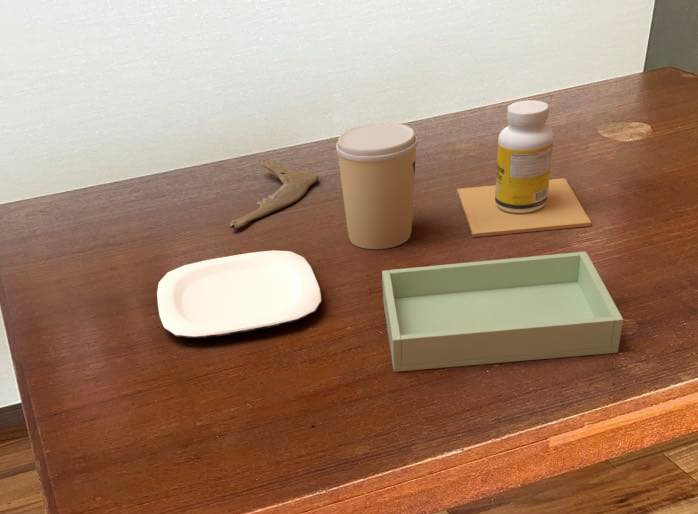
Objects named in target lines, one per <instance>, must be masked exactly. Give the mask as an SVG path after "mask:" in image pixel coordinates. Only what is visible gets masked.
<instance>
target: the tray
mask: <svg viewBox="0 0 698 514" xmlns="http://www.w3.org/2000/svg"><path fill="white" fill-rule="evenodd" d="M597 270H598V269H596V267H595V265H594V263H593V261H592V259H591V258H590V256H589V254H588V251H575V252H566V253H565V252H563V253H555V254H546V255H545V254H544V255H534V256H533V255H532V256H523V257H512V258H502V259H491V260H479V261H469V262H459V263H449V264H437V265H427V266H416V267H407V268H405V267H404V268H395V269H387V270H382V272H381V280H382V281H381V282H382V302H383V303H382V304H383V309H384V317H385V322H386V330H387V337H388V342H389V349H390V356H391V362H392V370H393V373H397V372H408V371H409V372H410V371H420V370H421V371H422V370H432V369H443V368H445V369H446V368H456V367H467V366H478V365H490V364H501V363H514V362H523V361H524V362H525V361H537V360H548V359H549V360H550V359H559V358H561V359H563V358H571V357H572V358H573V357H584V356H595V355H606V354H607V355H608V354H618V353H619V348H620V343H621V337H622V331H623V325H624V318H623V316H622V314H621V312H620V310H619V309H618V307H617V305H616V303H615V301H614V299H613V297H612V296H611V294H610V291H608V289H607V287H606V285H605V283H604V281H603V280H602V277H601V276H600V274H599V272H598V271H597Z"/></svg>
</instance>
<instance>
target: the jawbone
mask: <svg viewBox="0 0 698 514" xmlns="http://www.w3.org/2000/svg"><path fill="white" fill-rule="evenodd" d="M260 166H262V167H263V168H265V169H267V170H268V171H269V172H271V173H272V174H274V175H275V176H276V177H277V178H278V179H279V180H280V183H282V185H281V186H280V187H279V188H278V189H277V190H276V191H275V192H273V194H272V195H268V197H263V198H262V200H260V201H257V202H256V205H257V206H258V208H257V209H256V210H254V211H251V212H250V213H248V214H245V215H243V216H240V217H239V218H236V219H231V221H230V222H229V228H230V229H232V230H238V229H239V228H244V227H246V226H247V225H248V224H249V223H251V222H252V221H254V220H258V219H261V218H263V217H265V216H267V215H269V214H272V213H274V212H277V211H279V210H282V209H284V208H286V207H288V206H290V205H293V204H294V203H297V202H298V201H300V199H302V197H303V196H305V194H306V193H307V191H308V189H310V187H311V186H312V185H313V184H315V183H316V182H318V181H319V176H318V175H317V174H316V173H314V172H311V171H308V170H293V169H289V168H286V167H284V166H283V165H282V164H281V163H279V162H278V163H277V164H276V165H274V163H273V164H272V163H271V162H270V161H266V160H265V159H262V160H261V161H260Z"/></svg>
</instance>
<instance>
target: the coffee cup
mask: <svg viewBox="0 0 698 514" xmlns="http://www.w3.org/2000/svg"><path fill="white" fill-rule="evenodd" d="M417 147H418V136H417V135H416V133H415V131H414V129H413V128H412V127H411V126H408V125H406V124H402V123H398V122H371V123H365V124H361V125H357V126H354V127H351V128H349V129H346V130H345V131H343V132H342V133H340V135H339V136H338V139H337V142H336V145H335V151H336V153H337V158H338V167H339V173H340V174H339V176H340V182H341V190H342V191H341V192H342V198H343V205H344V213H345V220H346V227H347V228H346V229H347V236H348V239H349V242H350V244H352V245H354V246H355V247H357V248H361V249H365V250H386V249H391V248H394V247H398V246H401V245H402V244H404V243H405V242H407V241H408V240H409V239H410V237H411V234H412V225H413V212H414V210H413V209H414V195H415V175H416V157H417V156H416V154H417Z"/></svg>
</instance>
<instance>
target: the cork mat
mask: <svg viewBox="0 0 698 514" xmlns="http://www.w3.org/2000/svg"><path fill="white" fill-rule="evenodd" d="M495 191H496V184H494V185H484V186H474V187H472V186H471V187H463V188H462V187H461V188H457V195H458V199H459V201H460V204H461V207H462V210H463V213H464V215H465V218H466V221H467V225H468V227H469V230H470V233H471V236H472V238H481V237H490V236H491V237H492V236H493V237H494V236H502V235H503V236H504V235H511V234H512V235H513V234H522V233H523V234H525V233H534V232H544V231H555V230H564V229H575V228H587V227H591V226H592V221H591V220H590V218H589V216H588V214H587V213H586V211H585V209H584V208H583V206H582V204H581V203H580V201H579V199H578V198H577V196H576V194H575V193H574V191H573V189H572V187H571V186H570V184H569V182H568V180H567V179H566V178H565V177H564V178H563V177H562V178H553V179H549V190H548V200H547V202H546V204H545V205H544V206H543V207H542V208H540V209H538V210H536V211H532V212H527V213H512V212H507V211H504V210H502V209H500V208H499V207H498V206H497V205H496V202H495Z"/></svg>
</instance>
